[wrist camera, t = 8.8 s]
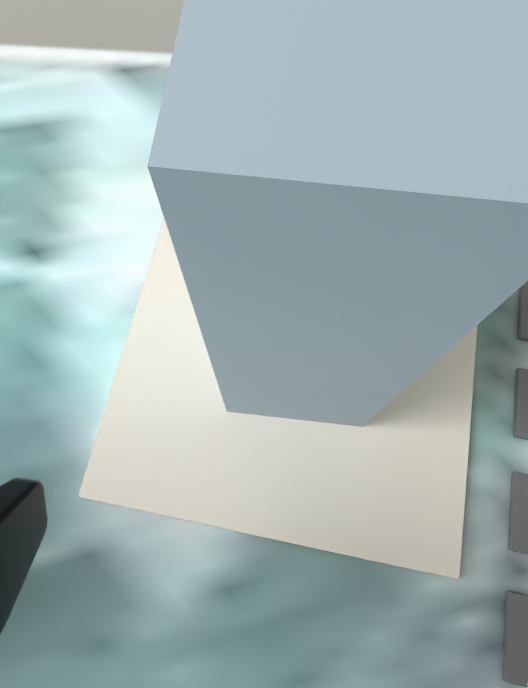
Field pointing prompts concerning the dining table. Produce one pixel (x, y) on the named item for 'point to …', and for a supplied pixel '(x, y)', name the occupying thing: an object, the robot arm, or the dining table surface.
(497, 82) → the stub block
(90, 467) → the coaster
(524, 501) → the perforation line
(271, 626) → the dining table surface
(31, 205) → the dining table surface
